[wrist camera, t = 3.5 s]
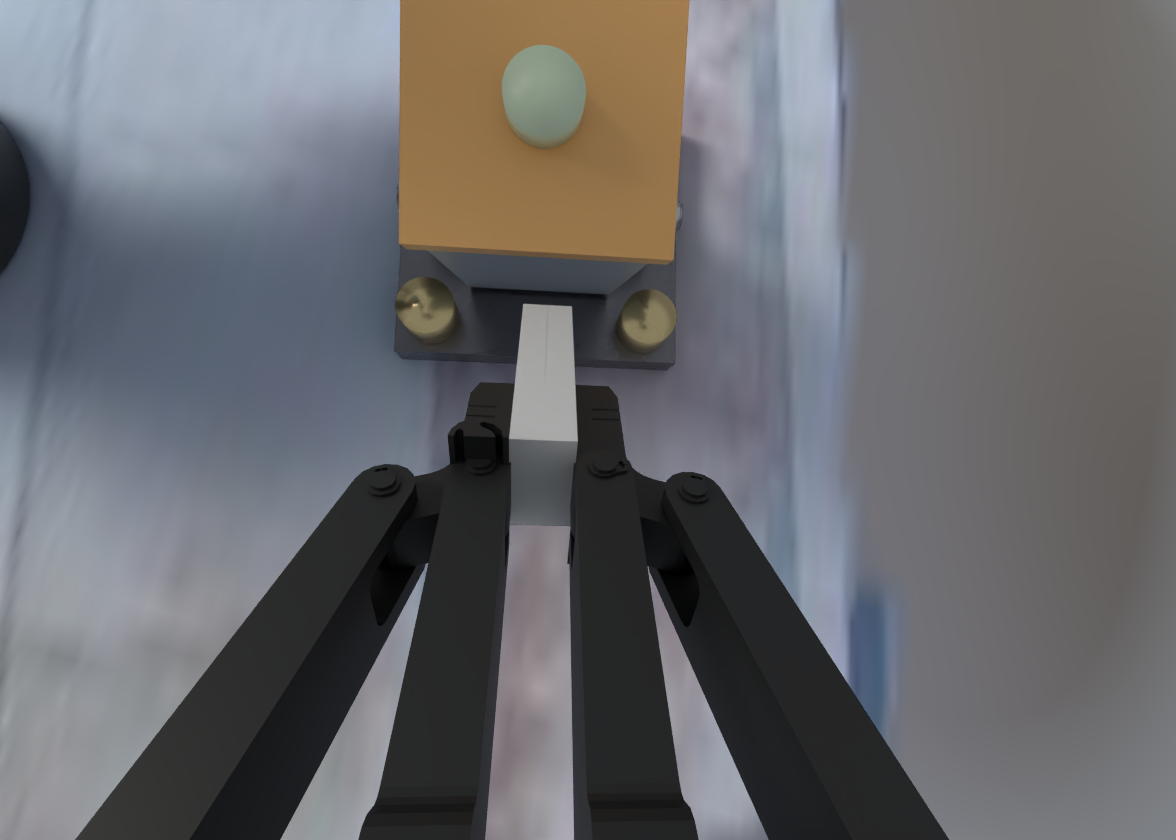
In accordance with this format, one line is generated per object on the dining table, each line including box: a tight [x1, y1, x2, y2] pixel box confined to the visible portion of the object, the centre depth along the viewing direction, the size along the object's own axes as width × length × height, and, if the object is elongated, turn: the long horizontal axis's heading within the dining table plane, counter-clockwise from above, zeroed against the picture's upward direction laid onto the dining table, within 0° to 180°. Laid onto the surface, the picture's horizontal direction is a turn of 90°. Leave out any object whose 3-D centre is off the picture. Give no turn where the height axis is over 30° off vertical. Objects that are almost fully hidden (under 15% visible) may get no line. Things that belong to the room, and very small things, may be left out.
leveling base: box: [394, 183, 683, 370], centre depth 32 cm, size 16×16×8 cm
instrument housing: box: [399, 0, 689, 294], centre depth 24 cm, size 11×9×16 cm
